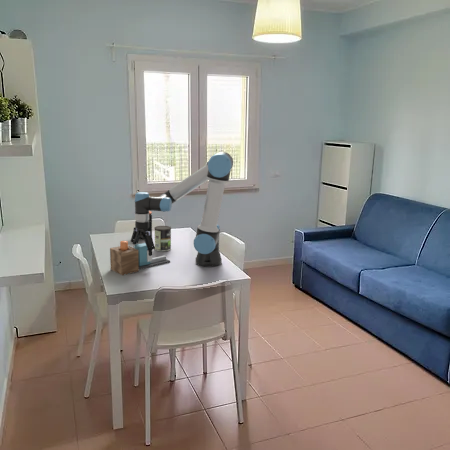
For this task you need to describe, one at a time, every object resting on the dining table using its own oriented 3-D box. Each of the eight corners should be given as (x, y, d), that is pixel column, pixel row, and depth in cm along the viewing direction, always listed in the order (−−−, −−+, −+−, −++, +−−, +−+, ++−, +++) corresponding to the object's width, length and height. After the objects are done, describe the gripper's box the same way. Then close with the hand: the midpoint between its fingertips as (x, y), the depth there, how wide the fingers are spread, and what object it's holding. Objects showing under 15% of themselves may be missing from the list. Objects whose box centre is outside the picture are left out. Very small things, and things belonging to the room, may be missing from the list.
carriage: (150, 263, 249) (150, 244, 246) (139, 266, 244) (139, 247, 241) (145, 261, 252) (145, 242, 250) (134, 263, 248) (134, 244, 245)
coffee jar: (135, 235, 310) (135, 210, 306) (150, 235, 313) (150, 210, 309) (137, 240, 300) (136, 213, 296) (153, 239, 303) (153, 213, 299)
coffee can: (173, 247, 285) (173, 226, 282) (167, 252, 275) (168, 230, 272) (157, 246, 287) (157, 225, 284) (152, 250, 277) (152, 228, 274)
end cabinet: (139, 271, 240) (139, 249, 237) (122, 275, 233) (121, 253, 230) (127, 265, 249) (127, 244, 246) (110, 269, 242) (110, 248, 239)
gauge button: (129, 252, 238) (129, 242, 237) (122, 254, 236) (122, 243, 234) (125, 251, 241) (125, 240, 240) (118, 252, 238) (118, 241, 237)
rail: (170, 262, 256) (170, 257, 256) (137, 270, 242) (137, 264, 241) (162, 258, 262) (162, 254, 261) (129, 266, 247) (129, 261, 246)
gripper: (161, 224, 236) (161, 262, 241) (135, 215, 254) (136, 251, 259) (149, 226, 231) (149, 265, 236) (124, 217, 249) (124, 253, 254)
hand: (142, 258), depth 247 cm, fingers open, 13 cm apart
